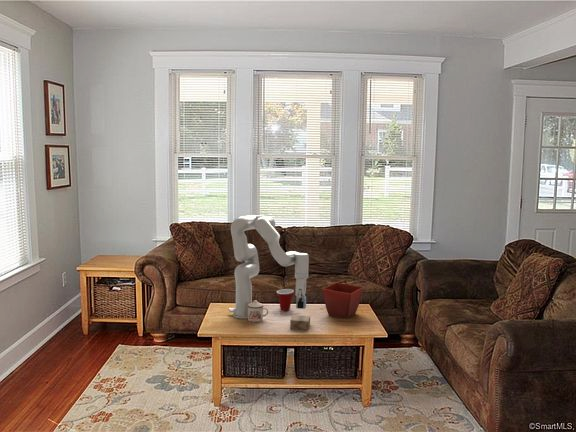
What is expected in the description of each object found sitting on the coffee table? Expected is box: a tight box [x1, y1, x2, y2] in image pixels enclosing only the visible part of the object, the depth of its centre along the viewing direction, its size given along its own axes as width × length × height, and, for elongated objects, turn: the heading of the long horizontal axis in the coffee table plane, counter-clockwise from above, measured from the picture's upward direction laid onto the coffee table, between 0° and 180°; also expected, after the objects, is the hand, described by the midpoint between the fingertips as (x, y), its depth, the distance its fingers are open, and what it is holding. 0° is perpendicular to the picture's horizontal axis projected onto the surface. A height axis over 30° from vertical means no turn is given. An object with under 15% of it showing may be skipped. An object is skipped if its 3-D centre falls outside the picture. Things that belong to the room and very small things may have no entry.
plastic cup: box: [276, 288, 294, 311], centre depth 337 cm, size 11×11×12 cm
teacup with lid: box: [247, 299, 269, 323], centre depth 314 cm, size 12×9×12 cm
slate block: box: [295, 295, 307, 310], centre depth 302 cm, size 5×5×6 cm
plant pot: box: [321, 282, 364, 319], centre depth 328 cm, size 19×19×17 cm
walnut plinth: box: [289, 314, 311, 331], centre depth 304 cm, size 10×10×5 cm
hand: (301, 306), depth 302 cm, fingers closed on slate block, 5 cm apart
